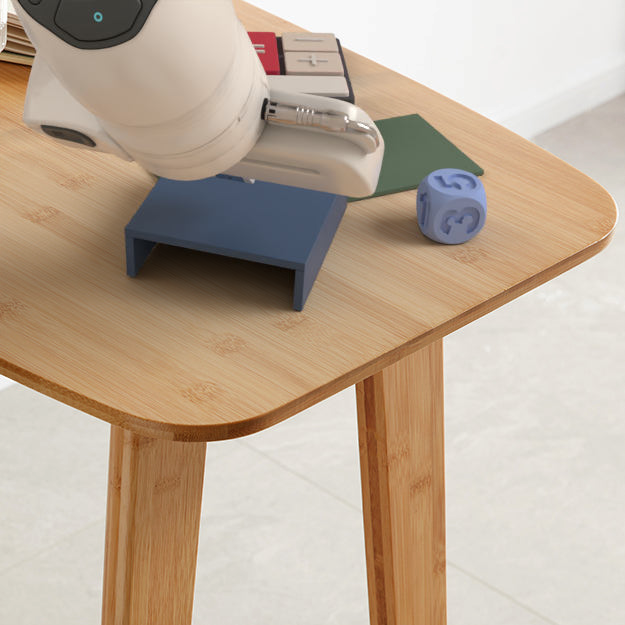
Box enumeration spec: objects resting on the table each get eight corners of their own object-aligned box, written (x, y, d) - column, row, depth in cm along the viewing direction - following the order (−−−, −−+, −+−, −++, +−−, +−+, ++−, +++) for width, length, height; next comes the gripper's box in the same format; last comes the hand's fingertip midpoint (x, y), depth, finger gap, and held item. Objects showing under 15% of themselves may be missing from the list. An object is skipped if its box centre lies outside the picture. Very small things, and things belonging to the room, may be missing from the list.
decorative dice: (413, 217, 83) (419, 169, 81) (465, 213, 84) (472, 166, 82) (428, 246, 80) (435, 197, 78) (482, 243, 81) (490, 194, 78)
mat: (197, 233, 80) (197, 228, 80) (147, 164, 87) (147, 160, 87) (483, 174, 89) (484, 170, 89) (416, 117, 96) (417, 113, 96)
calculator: (339, 28, 101) (356, 90, 89) (337, 75, 104) (353, 141, 91) (216, 26, 100) (215, 87, 88) (216, 73, 103) (215, 139, 90)
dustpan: (305, 264, 71) (368, 124, 85) (123, 228, 73) (216, 97, 87) (301, 311, 73) (364, 167, 88) (126, 276, 75) (216, 140, 90)
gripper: (387, 66, 59) (402, 149, 72) (22, 9, 62) (102, 98, 76) (362, 182, 58) (382, 244, 71) (-7, 118, 61) (79, 188, 75)
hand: (235, 169), depth 74 cm, fingers closed
